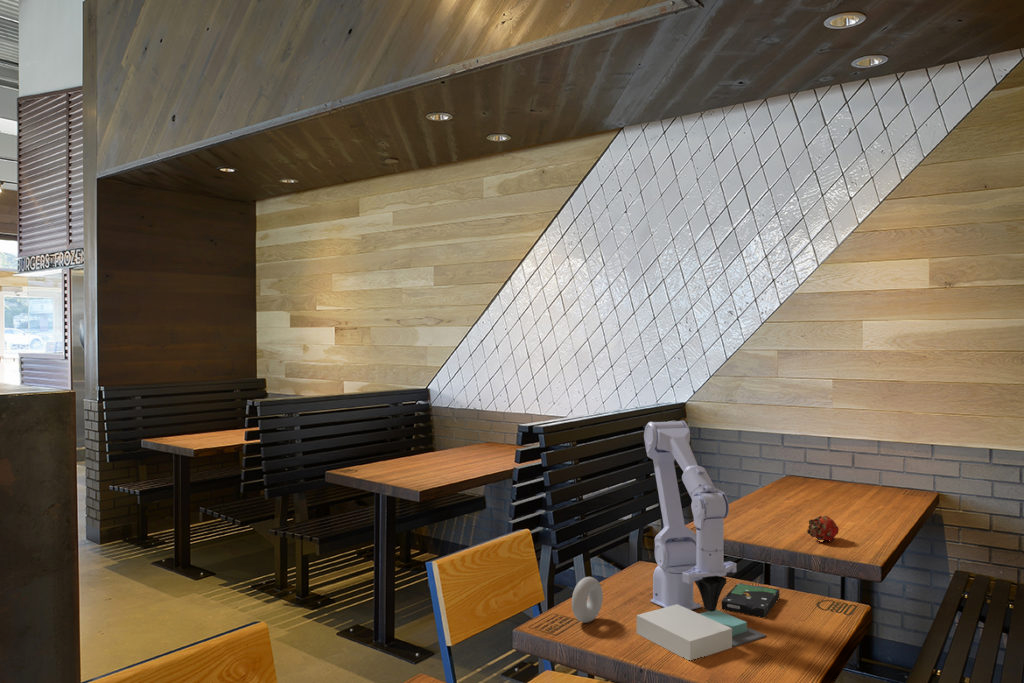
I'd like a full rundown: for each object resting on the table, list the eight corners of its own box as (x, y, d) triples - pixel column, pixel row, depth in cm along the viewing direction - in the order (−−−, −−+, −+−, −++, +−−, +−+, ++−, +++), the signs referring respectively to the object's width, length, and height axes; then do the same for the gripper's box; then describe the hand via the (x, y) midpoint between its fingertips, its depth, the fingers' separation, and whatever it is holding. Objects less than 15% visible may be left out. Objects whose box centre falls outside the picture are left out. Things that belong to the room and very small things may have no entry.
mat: (678, 621, 167) (678, 620, 167) (710, 612, 172) (710, 611, 172) (733, 647, 153) (733, 645, 153) (766, 636, 158) (766, 635, 158)
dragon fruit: (814, 550, 225) (825, 547, 234) (838, 537, 221) (849, 534, 230) (798, 524, 229) (810, 522, 238) (822, 511, 225) (833, 510, 234)
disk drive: (766, 621, 168) (779, 599, 181) (766, 609, 168) (779, 588, 181) (721, 612, 174) (737, 592, 186) (721, 600, 174) (737, 581, 186)
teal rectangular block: (715, 609, 168) (715, 617, 168) (696, 614, 165) (696, 623, 165) (746, 622, 160) (746, 631, 160) (727, 628, 157) (727, 637, 157)
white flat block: (636, 633, 160) (636, 615, 160) (677, 621, 166) (677, 604, 166) (690, 661, 147) (689, 641, 146) (732, 647, 153) (732, 628, 153)
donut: (593, 613, 172) (593, 570, 172) (605, 616, 170) (605, 573, 170) (568, 626, 164) (568, 581, 164) (581, 630, 162) (581, 585, 162)
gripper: (699, 558, 153) (699, 622, 153) (747, 547, 161) (747, 608, 161) (675, 549, 159) (675, 612, 159) (722, 539, 167) (722, 598, 167)
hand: (710, 609), depth 161 cm, fingers closed
